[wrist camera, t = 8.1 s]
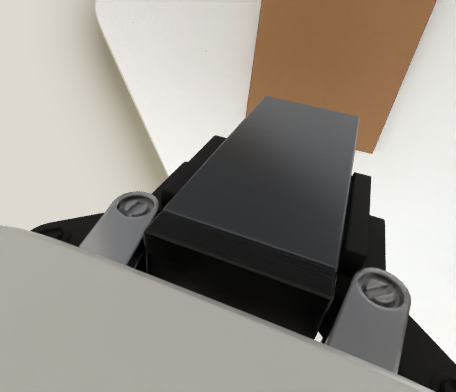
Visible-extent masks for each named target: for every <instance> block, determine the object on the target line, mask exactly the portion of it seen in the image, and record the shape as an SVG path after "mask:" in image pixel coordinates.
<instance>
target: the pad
mask: <svg viewBox="0 0 456 392" xmlns="http://www.w3.org/2000/svg"><path fill="white" fill-rule="evenodd" d="M435 3H436V0H262V3H261V10H260V17H259V24H258V32H257V39H256V46H255V53H254V61H253V68H252V75H251V82H250V90H249V97H248V104H247V112H246V117H247V116H248V114H249V113H250V112H251V111H252V110H253V109H254V108H255V107H256V106H257V105H258V103H259V102H260V101H261V100H262V99H263V98H264V97H265V96H270V97H274V98H279V99H283V100H288V101H292V102H296V103H301V104H305V105H310V106H314V107H319V108H323V109H327V110H332V111H336V112H341V113H345V114H350V115H354V116H358V117H359V125H358V132H357V139H356V146H355V150H359V151H363V152H367V153H371V154H372V153H373V151H374V148H375V146H376V144H377V141H378V139H379V136H380V134H381V132H382V129H383V127H384V124H385V122H386V120H387V117H388V115H389V113H390V110H391V108H392V105H393V103H394V101H395V98H396V96H397V93H398V91H399V89H400V86H401V84H402V81H403V79H404V77H405V74H406V72H407V70H408V67H409V65H410V62H411V60H412V58H413V55H414V53H415V50H416V48H417V46H418V43H419V41H420V38H421V36H422V34H423V31H424V29H425V27H426V24H427V22H428V19H429V17H430V15H431V12H432V10H433V7H434V5H435Z"/></svg>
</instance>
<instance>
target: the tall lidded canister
mask: <svg viewBox="0 0 456 392" xmlns="http://www.w3.org/2000/svg"><path fill="white" fill-rule="evenodd" d="M358 125H359V117H358V116H354V115H350V114H345V113H341V112H336V111H332V110H327V109H323V108H319V107H314V106H310V105H305V104H301V103H296V102H292V101H288V100H283V99H279V98H274V97H270V96H265V97H264V98H263V99H262V100H261V101H260V102H259V103H258V105H257V106H256V107H255V108H254V109H253V110H252V111H251V112H250V113H249V114H248V116H247V117H246V118H245V119H244V120H243V121H242V122H241V123H240V124H239V125H238V127H237V128H236V129H235V130H234V131H233V132H232V133H231V134H230V135H229V137H228V138H227V139H226V140H225V141H224V142H223V143H222V144H221V145H220V146H219V148H218V149H217V150H216V151H215V152H214V153H213V154H212V155H211V156H210V158H209V159H208V160H207V161H206V162H205V163H204V164H203V165H202V166H201V167H200V169H199V170H198V171H197V172H196V173H195V174H194V175H193V176H192V177H191V178H190V180H189V181H188V182H187V183H186V184H185V185H184V186H183V187H182V188H181V190H180V191H179V192H178V193H177V194H176V195H175V196H174V197H173V198H172V199H171V201H170V202H169V203H168V204H167V205H166V206H165V207H164V208H163V212H160V213H159V214H158V215H157V216H156V217H155V219H154V220H153V221H152V222H151V223H150V224H149V225H148V226H147V227H146V229H145V230H144V233H143V236H144V247H145V259H146V270H147V274H149V275H152V276H154V277H157V278H160V279H162V280H165V281H167V282H170V283H172V284H175V285H177V286H180V287H182V288H185V289H187V290H190V291H193V292H195V293H198V294H200V295H203V296H205V297H208V298H210V299H213V300H215V301H218V302H220V303H223V304H225V305H228V306H230V307H233V308H236V309H238V310H241V311H243V312H246V313H248V314H251V315H253V316H256V317H258V318H261V319H263V320H266V321H268V322H271V323H273V324H276V325H278V326H281V327H283V328H286V329H288V330H291V331H293V332H296V333H298V334H301V335H303V336H306V337H308V338H311V339H313V340H314V339H315V337H316V335H317V333H318V331H319V328H320V326H321V324H322V322H323V320H324V318H325V316H326V314H327V312H328V310H329V308H330V306H331V303H332V301H333V299H334V292H335V285H336V278H337V273H336V272H337V270H338V265H339V258H340V251H341V244H342V237H343V230H344V223H345V216H346V209H347V202H348V195H349V188H350V181H351V174H352V167H353V160H354V153H355V146H356V139H357V132H358Z"/></svg>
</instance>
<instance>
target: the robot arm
mask: <svg viewBox="0 0 456 392" xmlns="http://www.w3.org/2000/svg"><path fill="white" fill-rule="evenodd" d="M226 139H227V138H224V137H220V136H216V135H215V136H214V137H213V138H212V139H211V140H210V141H209V142H208V143H207V144H206V145H205V146H204V147H203V148H202V149H201V150H200V151H199V152H198V153H197V154H196V155H195V156H194V157H193V158H192V159H191V160H190V161H189V162H184V163H183V164H182V165H181V166H180V167H179V168H177V169H176V170H175V171H174V172H173V173H172V174H171V175H170V176H169V177H168V178H167V179H166V180H165V181H164V182H163V183H162V184H161V185H160V186H159V187H158V188H157V189H156V190H155V191H154V192H153V193H152V194H150V193H146V192H140V191H136V192H129V193H125V194H123V195H121V196H119V197H117V198H116V199H115V200H114V201H113V202H112V204H111V205H110V206H109V208H108V209H107V210H106V212H105V213H101V214H95V215H89V216H84V217H78V218H74V219H68V220H62V221H57V222H52V223H47V224H43V225H40V226H38V227H36V228H34V229H33V230H31V231H27V230H23V229H19V228H14V227H7V226H1V225H0V392H456V364H455V363H454V362H453V361H452V360H451V359H450V358H449V357H448V356H447V355H446V354H445V352H444V351H443V350H442V349H441V348H440V347H439V346H438V345H437V344H436V343H435V342H434V341H433V340H432V339H431V338H430V337H429V336H428V334H427V333H426V332H425V331H424V330H423V329H422V328H421V327H420V326H419V325H418V324H417V323H416V322H415V321H414V320H413V319H412V318H411V317H410V315H409V310H410V305H411V296H410V294H409V292H408V289H407V288H406V287H405V285H404V284H403V283H402V282H401V281H400V280H399V279H398V278H396V277H395V276H394V275H392V274H390V273H389V272H387V271H386V261H385V221H384V219H381V218H377V217H374V216H371V215H369V213H370V191H371V177H370V176H367V175H363V174H359V173H355V172H354V174H353V176H351V181H350V188H349V195H348V202H347V209H346V216H345V223H344V230H343V237H342V244H341V251H340V258H339V265H338V270H337V272H336V273H337V278H336V285H335V292H334V299H333V301H332V303H331V306H330V308H329V310H328V312H327V314H326V316H325V318H324V320H323V322H322V324H321V326H320V328H319V331H318V332H319V333H320V334H321V336H322V337H323V338H322V340H321V342H318V341H316V340H313V339H311V338H308V337H306V336H303V335H301V334H298V333H296V332H293V331H291V330H288V329H286V328H283V327H281V326H278V325H276V324H273V323H271V322H268V321H266V320H263V319H261V318H258V317H256V316H253V315H251V314H248V313H246V312H243V311H241V310H238V309H236V308H233V307H230V306H228V305H225V304H223V303H220V302H218V301H215V300H213V299H210V298H208V297H205V296H203V295H200V294H198V293H195V292H193V291H190V290H187V289H185V288H182V287H180V286H177V285H175V284H172V283H170V282H167V281H165V280H162V279H160V278H157V277H154V276H152V275H149V274H147V270H146V259H145V247H144V236H143V233H144V230H145V229H146V227H147V226H148V225H149V224H150V223H151V222H152V221H153V220H154V219H155V217H156V216H157V215H158V214H159V213H160V212H163V208H164V207H165V206H166V205H167V204H168V203H169V202H170V201H171V199H172V198H173V197H174V196H175V195H176V194H177V193H178V192H179V191H180V190H181V188H182V187H183V186H184V185H185V184H186V183H187V182H188V181H189V180H190V178H191V177H192V176H193V175H194V174H195V173H196V172H197V171H198V170H199V169H200V167H201V166H202V165H203V164H204V163H205V162H206V161H207V160H208V159H209V158H210V156H211V155H212V154H213V153H214V152H215V151H216V150H217V149H218V148H219V146H220V145H221V144H222V143H223V142H224V141H225V140H226Z"/></svg>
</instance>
